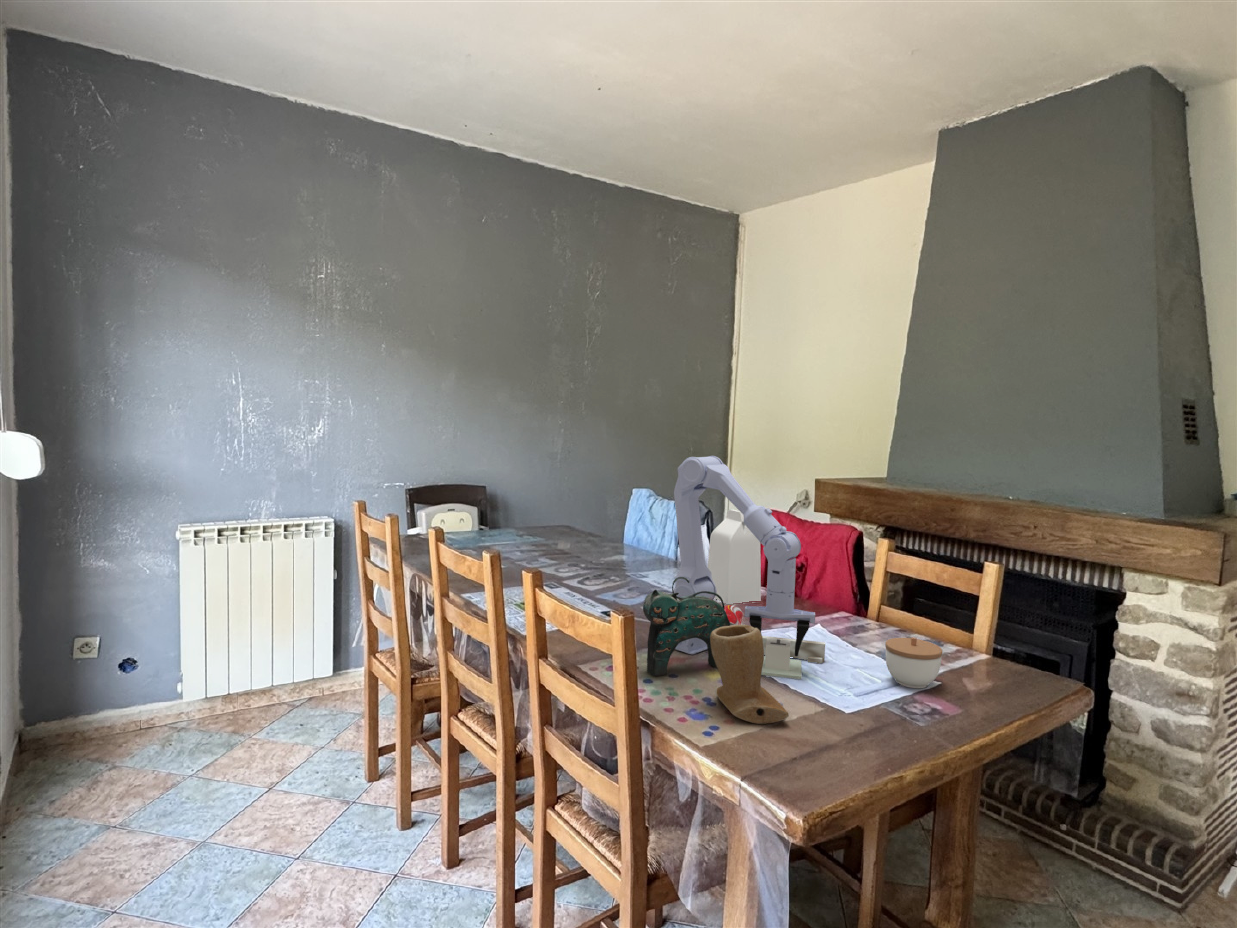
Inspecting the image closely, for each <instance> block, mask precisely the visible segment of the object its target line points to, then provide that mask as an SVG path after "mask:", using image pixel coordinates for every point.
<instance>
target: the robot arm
mask: <svg viewBox="0 0 1237 928" xmlns="http://www.w3.org/2000/svg"><path fill="white" fill-rule="evenodd" d="M677 475H678V476H677V480H676V482H675V486H674V489H673V498H674V505H675V507H674V508H675V516H676V518H675V519H676V526H677V527H676V528H677V538H678V547H679V548H678V549H679V558H680V569H679V571H678V572H677V574H676V576H675V578H674V580H675V579H676V578H678V577H685V578H687V579H688V580H689V583H688V582H687V581H686V580H685V579H678V580H677V581H676V582H675V585H674V588H673V590H674V593H679V594H678V595H677V596H678V597H684V596H690V595H693V594H695V593H697V592H701V591H710V592H714V593H716V592H717V590H716V586H715V583H714V582H713V580H712V576H711V571H710V570H709V569H708V566H707V565H706V563H705V562H706V561H705V553H704V542H703V535H702V534H703V532H702V523H701V513H700V502H699V497H700V496H701V495H703V493H704V492H705V491H706V490H707V489H713V490H718V491H720V493H722V495H723V496H724V497H725V498H726V499H727V500H728V501H729V502H730V503H732V505H733V506H734V507H735V508H736V509H737V511H740V512H741V513H742V514H743V515H744V524H745V525H746V527H747V528H748V529H749V530H750V531H751V532H752V533H753V535H754V536H755V537H756V538H757V539H758V540H759V541H760V545H762V546H763V548H762V549H763V553H764V555H765V558H766V560H767V562H768V563H767V576H766V577H767V579H766V580H767V581H766V582H767V583H766V584H767V585H766V601H765V603H766V605H765V606H759V605H758V606H755V605H754V606H749V605H745V607H744V618H749V620H748V621H749V624H750V625H749V626H752V627H754V628H758V629H759V630H760V632H761V633H762V624H763V621H762V620H763V619H772V620H781V621H793V622H796V637H795V639H796V644H795V656H798V653H799V649H800V646H801V643H802V641H803V640H804V639H805V636H806V634H807V633H808V631H809V629H810V624H816V612H815V611H814V612H813V611H807V610H803V609H802V610H801V609H795V592H796V590H795V587H796V570H797V569H796V568H797V567H796V564H797V558H796V557H798V555H799V554H800V552H801V549H802V543H801V541H800V538H799V537H798V536H797V534H796V533H794V532H793V531H790V530H789V531H787V530H788V529H787V527H786V526H783V525H781V523H780V522H779V521H778V520H777V519H776V518H775V517H774V515H772V513H773V511H772V510H771V509H770V508H769V507H767V508H766V506H764V505H757V504H755V502H754V501H753V500H752V498H751V497H750V496H749V495H748V493H747V492H746V491H745V490H744V488H743V487H742V486H741V485H740V484H739V482H738V481H737V480H736V478H735V477H734V476H733V474H732V473H731V470H730V468H729V466H727V465H726V464H725V463H724V462H723V461H722V459H721V458H720V457H718V456H715V455H708V456H699V457H696V456H690V457H687V458H686V459H684V460H683V462H682V463H681V464H679V466H678V467H677ZM697 596H704V597H708V598H710V599H712V600H714V601H715V599H714V598H715V597H716V595H713V594H708V593H700V594H697ZM677 599H678V598H677ZM762 618H763V619H762ZM675 650H676V651H680V652H681V653H682V652H683V653H685V654H688V655H695V654H698V653H700V652H703V651H707V650H708V648H707V644H706V643H705V642H704V641H703V640H701V639H699V638H691V639H688V640H685V641H682V642H680V643H679V644H678V645H677V647H676V648H675Z"/></svg>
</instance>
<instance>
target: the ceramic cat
mask: <svg viewBox="0 0 1237 928" xmlns="http://www.w3.org/2000/svg"><path fill="white" fill-rule="evenodd" d="M678 579H685V580H686V581H687V582H688V583H689V580H688V579H687V578H685V577H678V578H676V579H675V578H674V580H673V581H672V585H671V592H672V593H668V592H665V591H661V590H657V589H654V590H653V591H652V592H650V593H649V594H647V595H646V596H645V598H644V601H643V605H642V612H643V615H644V616H645V618H646V619H647V620H648V621H649V622H650V624H649V629H648V636H647V637H648V638H647V656H646V670H647V672H648V673H649V674H650V675H651V676H653V678H654V677H665V676H666V675H667V671H668V666H669V665H668V664H669V661H670V659H671V656H672V655H673V653H674V651H675V650H676V649H675V648H676V647H677V645H678V644H679V643H680V642H682V641H685V640H688V639H691V638H699V639H701V640H703V641H704V642H705V643H706V644H707V648H708V649H707V664H708V665H710V666H711V667H712V668H716V669H718V668H717V665H716V663H715V660H714V657H713V655H712V650H711V643H710V635H711V633H712V631H713V630H715V629H717V628H720V627H723V626H730V622H729V619H728V617H727V614H726V612H725V610H724V609H725V607H724V606H725V604H724V603H723V600H722V598H721V597H720V596H719V595H718V594H717V593H714V592H710V591H701V592H697V593H695V594H693V595H690V596H684V597H678V596H677V595H678V594H679V593H674V586H675V585H674V584H676V581H677V580H678ZM700 593H708V594H713V595H716V596H717V597H718V598H719V599H720V600H721V602H718V601H717V600H715V599H714V600H712V599H710V598H708V597H704V596H697V594H700ZM677 598H678V599H677ZM720 603H721V604H720Z"/></svg>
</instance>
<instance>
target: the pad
mask: <svg viewBox="0 0 1237 928" xmlns="http://www.w3.org/2000/svg"><path fill="white" fill-rule="evenodd" d="M761 676H768V677H775V678H776V677H777V678H783V679H784V678H785V679H793V680H802V678H803V677H802V660H799V659H790V666H789V671H788V670H780V669H771V668H765V656H764V661H763V667H762V672H761Z"/></svg>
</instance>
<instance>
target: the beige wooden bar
mask: <svg viewBox="0 0 1237 928" xmlns="http://www.w3.org/2000/svg"><path fill="white" fill-rule="evenodd" d="M762 638H763V647H764V655H766V640H767V638H777V639H786V640H791V641H790V657H793V658H799V659H804V660H803V661H807V663H809V662H817V663H816V664H819V663H822V664H823V663H825V658H826V657H825V656H826V642H825V641H815V640H807V639H806V640H804V639H803V641H802V643H801V646H800V649H799V653H798V656H795V644H796V638H795V639H794V638H788V637H787V638H785V637H777V636H776V637H775V636H767V635H762ZM799 659H798V660H799Z"/></svg>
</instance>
